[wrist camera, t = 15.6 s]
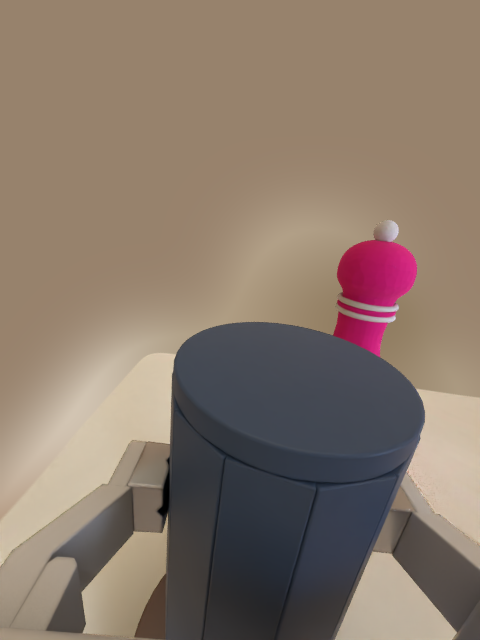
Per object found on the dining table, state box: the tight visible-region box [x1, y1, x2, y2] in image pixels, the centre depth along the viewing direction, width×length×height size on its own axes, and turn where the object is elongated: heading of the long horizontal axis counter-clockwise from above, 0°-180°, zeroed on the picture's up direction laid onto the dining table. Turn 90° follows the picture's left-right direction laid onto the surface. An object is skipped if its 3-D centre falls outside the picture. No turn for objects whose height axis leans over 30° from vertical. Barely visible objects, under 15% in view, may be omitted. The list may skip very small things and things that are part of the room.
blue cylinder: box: [165, 322, 425, 640], centre depth 8 cm, size 6×6×10 cm
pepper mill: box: [333, 220, 417, 357], centre depth 25 cm, size 7×7×20 cm
